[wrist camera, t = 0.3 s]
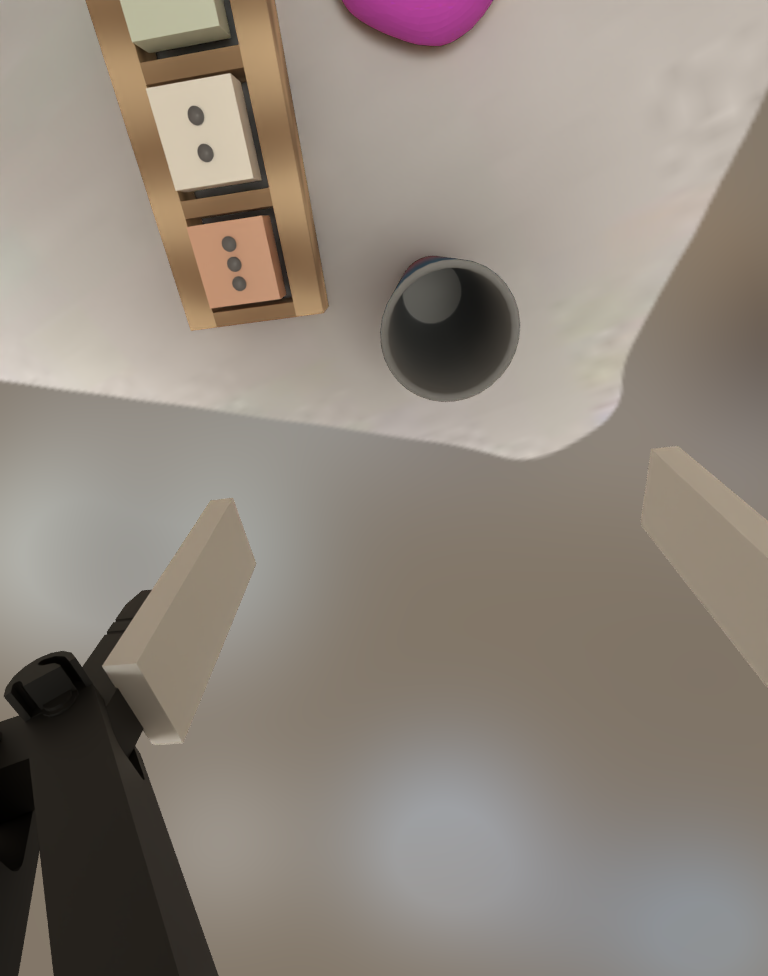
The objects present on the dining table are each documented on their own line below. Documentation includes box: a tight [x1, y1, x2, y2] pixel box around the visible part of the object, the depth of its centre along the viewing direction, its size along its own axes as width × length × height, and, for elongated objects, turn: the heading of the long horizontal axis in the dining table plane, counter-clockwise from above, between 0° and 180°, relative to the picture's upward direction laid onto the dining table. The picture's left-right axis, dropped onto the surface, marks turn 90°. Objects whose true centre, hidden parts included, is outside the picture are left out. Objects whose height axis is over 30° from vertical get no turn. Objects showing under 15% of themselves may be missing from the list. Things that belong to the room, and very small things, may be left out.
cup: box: [380, 256, 520, 402], centre depth 30 cm, size 7×7×15 cm
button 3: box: [186, 215, 287, 309], centre depth 33 cm, size 5×5×2 cm
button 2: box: [146, 73, 262, 192], centre depth 29 cm, size 5×5×2 cm
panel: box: [86, 0, 329, 331], centre depth 31 cm, size 22×10×3 cm, turn 7°
